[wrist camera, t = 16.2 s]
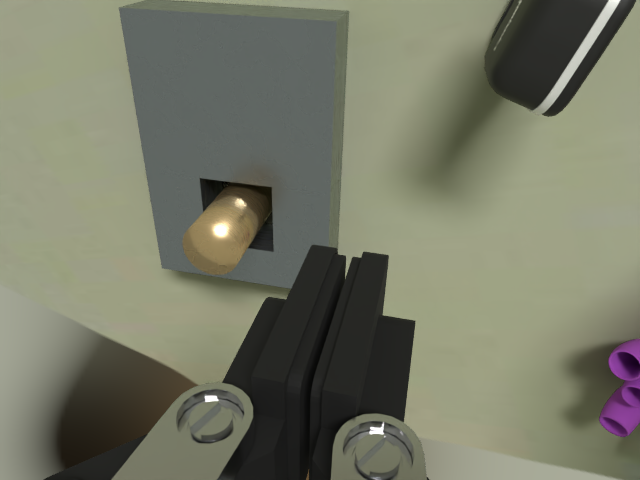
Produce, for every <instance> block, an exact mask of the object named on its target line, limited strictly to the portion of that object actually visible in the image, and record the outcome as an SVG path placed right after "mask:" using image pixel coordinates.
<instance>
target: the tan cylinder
mask: <svg viewBox="0 0 640 480" xmlns="http://www.w3.org/2000/svg"><path fill="white" fill-rule="evenodd" d="M271 212H272V187H267V186H259V185H251V184H243V183H235V182H229V184H228V185H227V186H226V187H225V188H224V189H223V190H222V192H221V193H220V194H219V195H218V196H217V197H216V198H215V199H214V201H213V202H212V203H211V204H210V205H209V206H208V207H207V208H206V210H205V211H204V212H203V213H202V214H201V215H200V216H199V217H198V219H197V220H196V221H195V222H194V223H193V224H192V225H191V227H190V228H189V229H188V230H187V231H186V233H185V234H184V236H183V242H182V243H183V250H184V253H185V255H186V257H187V258H188V260H189V261H190V262H191V263H192V264H193V265H194V266H195V267H197V268H198V269H199V270H201V271H203V272H205V273H208V274H212V275H223V274H227V273H229V272H230V271H232V270H233V269H234V268H235V267H236V265H237V264H238V262H239V261H240V259H241V258H242V256H243V255H244V253H245V252H246V250H247V249H248V247H249V245H250V244H251V242H252V241H253V239H254V238H255V236H256V235H257V233H258V232H259V230H260V229H261V227H262V226H263V224H264V222H265V221H266V219H267V218H268V216H269V215H270V213H271Z"/></svg>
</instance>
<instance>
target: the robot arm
mask: <svg viewBox="0 0 640 480" xmlns="http://www.w3.org/2000/svg"><path fill="white" fill-rule="evenodd" d="M388 258H389V255H384V254H377V253H370V252H363V254H362V258H358V257H353V258H352V260H351V263H350V267H349V270H348V273H347V276H346V279H345V268H346V256H344V255H338V250H337V248H334V247H327V246H320V245H311V247H310V249H309V251H308V253H307V256H306V258H305V260H304V262H303V264H302V267H301V269H300V271H299V273H298V275H297V277H296V280H295V282H294V284H293V286H292V288H291V290H290V293H289V295H288V297H287V299H286V300H285V299H279V298H273V297H268V298H266V299H265V301H264V302H263V304H262V306H261V308H260V310H259V312H258V314H257V316H256V318H255V320H254V322H253V324H252V326H251V328H250V329H249V331H248V333H247V335H246V337H245V339H244V341H243V343H242V345H241V347H240V349H239V351H238V353H237V355H236V357H235V359H234V360H233V362H232V364H231V366H230V368H229V370H228V372H227V374H226V376H225V378H224V380H223V382H222V383H206V384H203V385H199V386H196V387H193V388H192V389H190V390H188V391H186V392H184V393H183V394H182V395H181V396H180V397H179V398H178V399H177V400H175V402H174V403H173V404H172V405H171V406H170V408H169V409H168V410H167V411H166V412H165V414H164V415H163V416H162V417H161V419H160V420H159V421H158V422H157V424H156V425H155V426H154V428H153V429H152V430H151V431H150V432H149V434H146V435H144V436H142V437H140V438H137V439H135V440H133V441H130V442H128V443H126V444H124V445H121V446H119V447H117V448H114V449H112V450H110V451H107V452H105V453H103V454H100V455H98V456H96V457H94V458H91V459H89V460H87V461H84V462H82V463H80V464H77V465H75V466H73V467H71V468H68V469H66V470H64V471H62V472H59V473H57V474H55V475H52V476H50V477H48V478H46V479H44V480H306V477H307V474H308V470H309V480H429V479H428V477H427V476H426V466H425V458H424V451H423V448H422V444H421V442H420V440H419V438H418V437H417V435H416V434H415V432H414V431H413V430H412V429H411V428H410V427H408V426H407V425H406V424H405V423H404V416H405V407H406V398H407V390H408V381H409V373H410V364H411V355H412V347H413V338H414V329H415V321H413V320H407V319H401V318H395V317H389V316H383V315H382V314H383V305H384V296H385V287H386V278H387V269H388Z"/></svg>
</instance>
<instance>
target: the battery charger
mask: <svg viewBox="0 0 640 480" xmlns="http://www.w3.org/2000/svg"><path fill="white" fill-rule="evenodd" d="M635 2H636V0H511V1H510V3H509V5H508V6H507V8H506V10H505V12H504V14H503V16H502V18H501V20H500V22H499V23H498V25H497V27H496V29H495V32H494V34H493V37H492V42H491V43H490V46H489V48H488V50H487V52H486V54H485V71H486V75H487V78H488V81H489V84H490V86H491V87H492V88H493V89H494V91H495V92H496V93H497V94H499V95H501V96H502V97H504V98H506V99H508V100H510V101H513V102H515V103H517V104H519V105H522V106H524V107H526V108H527V109H528V110H529V111H530V112H532V113H535V114H537V115H541V114H542V115H544V116H548V117H549V116H555V115H557V114H558V113H559V112H561V111H562V110H563V109H564V108H565V107H566V106H567V105H568V103H569V102H570V101H571V99H572V98H573V97H574V95H575V94H576V92H577V91H578V89H579V88H580V86H581V85H582V84H583V82H584V81H585V79H586V78H587V76H588V75H589V73H590V72H591V70H592V69H593V67H594V66H595V64H596V63H597V61H598V60H599V58H600V57H601V55H602V54H603V52H604V51H605V49H606V48H607V46H608V45H609V43H610V42H611V40H612V39H613V37H614V36H615V34H616V33H617V31H618V30H619V28H620V27H621V25H622V24H623V22H624V20H625V19H626V17H627V16H628V14H629V12H630V11H631V9H632V8H633V6H634V4H635Z"/></svg>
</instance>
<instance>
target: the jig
mask: <svg viewBox="0 0 640 480" xmlns="http://www.w3.org/2000/svg"><path fill="white" fill-rule="evenodd" d="M119 11H120V17H121V23H122V29H123V35H124V41H125V47H126V54H127V60H128V66H129V72H130V78H131V84H132V90H133V96H134V102H135V108H136V114H137V120H138V126H139V132H140V138H141V144H142V150H143V156H144V162H145V168H146V174H147V180H148V186H149V192H150V198H151V204H152V210H153V216H154V222H155V229H156V235H157V241H158V247H159V253H160V259H161V265H162V268H164V269H170V270H176V271H183V272H189V273H195V274H202V275H208V276H214V277H221V278H227V279H233V280H239V281H246V282H252V283H258V284H265V285H271V286H277V287H283V288H290V289H291V288H292V286H293V284H294V282H295V280H296V277H297V275H298V273H299V271H300V269H301V267H302V264H303V262H304V260H305V258H306V256H307V253H308V251H309V249H310V247H311V245H320V246H327V247H334V248H337V250H338V232H339V211H340V190H341V169H342V147H343V126H344V105H345V84H346V63H347V42H348V21H349V11H338V10H322V9H305V8H288V7H272V6H255V5H238V4H221V3H205V2H188V1H171V0H145V1H142V2H138V3H134V4H130V5H127V6H123V7H119ZM222 181H227V182H235V183H243V184H251V185H259V186H267V187H272V211H273V224H267V223H264V224H263V226H262V227H261V229H260V230H259V232H258V233H257V235H256V236H255V238H254V239H253V241H252V242H251V244H250V245H249V247H248V249H247V250H246V252H245V253H244V255H243V256H242V258H241V259H240V261H239V262H238V264H237V265H236V267H235V268H234V269H233V270H232V271H230V272H229V273H227V274H223V275H212V274H208V273H205V272H203V271H201V270H199V269H198V268H197V267H195V266H194V265H193V264H192V263H191V262H190V261H189V260H188V258H187V257H186V255H185V253H184V250H183V243H182V242H183V236H184V234H185V233H186V231H187V230H188V229H189V228H190V227H191V225H192V224H193V223H194V222H195V221H196V220H197V219H198V217H199V216H200V215H201V214H202V213H203V212H204V211H205V210H206V208H207V207H208V206H209V205H210V204H211V203H212V202H213V201H214V199H215V198H216V197H217V196H218V195H219V194H220V193H221V192H222V190H223V182H222Z"/></svg>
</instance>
